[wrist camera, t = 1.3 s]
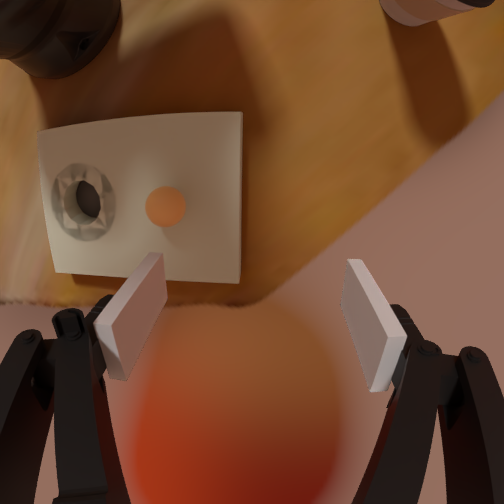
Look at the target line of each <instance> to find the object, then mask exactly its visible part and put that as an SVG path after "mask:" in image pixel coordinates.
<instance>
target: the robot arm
mask: <svg viewBox="0 0 504 504" xmlns="http://www.w3.org/2000/svg"><path fill="white" fill-rule="evenodd" d="M119 10H120V0H0V59H8V60H10V61H11V62H13V63H14V64H15V65H17V66H18V67H20V68H21V69H23V70H24V71H25V72H26V73H28V74H30V75H32V76H35V77H39V78H47V79H58V78H63V77H66V76H69V75H71V74H73V73H75V72H77V71H78V70H80V69H82V68H83V67H84V66H86V65H87V64H88V63H89V62H90V61H91V60H92V59H94V58H95V56H96V55H97V54H98V53H99V52H100V51H101V50H102V48H103V47H104V46H105V44H106V43H107V41H108V39H109V38H110V36H111V34H112V32H113V30H114V28H115V25H116V22H117V19H118V15H119ZM167 299H168V296H167V287H166V278H165V269H164V259H163V253H155V252H149V253H148V255H147V256H146V257H145V258H144V259H143V261H142V262H141V263H140V264H139V265H138V267H137V268H136V269H135V270H134V272H133V273H132V274H131V275H130V276H129V278H128V279H127V280H126V281H125V283H124V284H123V285H122V286H121V288H120V289H119V290H118V291H117V293H116V294H115V295H109V294H108V295H106V296H105V297H103V298H102V299H100V300H99V301H98V302H97V304H96V305H95V307H93V308H92V310H91V312H89V314H88V315H87V316H86V317H85V318H84V315H83V312H82V311H81V310H79V309H75V308H69V309H65V310H62V311H60V312H58V313H56V314H55V315H54V316H53V318H52V323H53V325H54V329H55V332H56V334H57V337H58V339H45V340H43V338H42V335H41V333H40V331H38V330H35V329H31V330H26V331H23V332H21V333H20V334H18V335H17V336H16V338H15V339H14V341H13V343H12V344H11V346H10V348H9V350H8V351H7V353H6V355H5V357H4V359H3V361H2V363H1V364H0V504H34V498H35V492H36V487H37V481H38V476H39V471H40V466H41V461H42V457H43V452H44V448H45V444H46V439H47V436H48V432H49V428H50V424H51V420H52V417H53V413H54V434H55V455H56V468H57V479H58V488H59V496H58V497H57V498H54V499H53V502H52V504H131V502H130V498H129V495H128V491H127V488H126V484H125V481H124V477H123V473H122V469H121V465H120V461H119V456H118V452H117V447H116V443H115V438H114V433H113V428H112V423H111V417H110V412H109V406H108V400H107V393H106V386H105V381H104V378H103V373H104V371H105V369H106V368H107V371H108V374H109V377H110V378H112V379H117V380H123V381H127V379H128V377H129V375H130V373H131V371H132V369H133V367H134V365H135V363H136V360H137V359H138V357H139V355H140V352H141V351H142V348H143V346H144V344H145V342H146V340H147V338H148V336H149V334H150V332H151V330H152V328H153V326H154V324H155V322H156V320H157V319H158V317H159V315H160V313H161V311H162V309H163V307H164V305H165V303H166V301H167ZM340 306H341V309H342V312H343V314H344V317H345V320H346V323H347V326H348V328H349V331H350V334H351V337H352V340H353V343H354V346H355V349H356V352H357V354H358V358H359V361H360V364H361V367H362V370H363V373H364V376H365V379H366V382H367V385H368V388H369V392H379V391H387V390H388V388H389V385H390V383H391V380H392V382H393V385H394V387H395V388H394V391H393V393H392V396H391V398H390V400H389V402H388V405H387V407H386V408H388V409H387V412H386V416H385V419H384V422H383V425H382V428H381V431H380V434H379V437H378V439H377V442H376V445H375V448H374V451H373V453H372V456H371V458H370V461H369V464H368V466H367V469H366V471H365V474H364V476H363V478H362V481H361V483H360V485H359V488H358V490H357V492H356V495H355V497H354V499H353V502H352V503H351V504H417V502H418V499H419V496H420V492H421V488H422V484H423V480H424V476H425V472H426V468H427V463H428V459H429V454H430V449H431V444H432V438H433V432H434V426H435V420H436V413H437V409H438V414H439V422H440V429H441V437H442V445H443V454H444V465H445V477H446V492H447V493H446V494H447V504H504V397H503V395H502V392H501V389H500V387H499V384H498V381H497V379H496V376H495V374H494V371H493V368H492V366H491V363H490V361H489V359H488V357H487V355H486V354H485V353H484V352H483V351H482V350H481V349H479V348H476V347H472V346H468V347H464V348H462V349H461V351H460V353H459V356H454V355H446V354H442V350H441V349H440V347H439V346H438V345H436V344H435V343H433V342H431V341H428V340H424V338H423V336H422V335H421V333H420V332H419V330H418V328H417V327H416V325H415V324H414V322H413V320H412V319H410V316H409V314H408V313H407V311H406V310H405V309H404V308H402V307H401V306H400V305H398V304H392V305H389V304H388V302H387V300H386V298H385V297H384V295H383V294H382V292H381V290H380V289H379V287H378V285H377V284H376V282H375V280H374V279H373V277H372V276H371V274H370V272H369V271H368V269H367V268H366V266H365V264H364V263H363V261H362V260H361V259H347V265H346V271H345V278H344V284H343V291H342V297H341V303H340Z"/></svg>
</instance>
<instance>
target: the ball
mask: <svg viewBox="0 0 504 504" xmlns="http://www.w3.org/2000/svg"><path fill="white" fill-rule="evenodd" d="M145 211H146V214H147V217H148V218H149V220H150V221H151V222H152V223H153V224H155V225H157V226H159V227H171V226H174V225H176V224H177V223H178V222H179V221H180V220H181V219H182V218H183V216H184V214H185V211H186V202H185V199H184V197H183V195H182V194H181V192H180V191H178V190H177V189H176V188H174V187H170V186H162V187H158V188H156V189H155V190H153V191H152V192H151V193H150V194H149V196H148V197H147V200H146V203H145Z"/></svg>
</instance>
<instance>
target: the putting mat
mask: <svg viewBox="0 0 504 504" xmlns="http://www.w3.org/2000/svg"><path fill="white" fill-rule="evenodd" d="M242 140H243V113H242V112H193V113H173V114H158V115H146V116H135V117H126V118H117V119H109V120H101V121H94V122H87V123H81V124H74V125H68V126H63V127H57V128H52V129H47V130H42V131H37V143H38V159H39V171H40V182H41V191H42V199H43V206H44V213H45V220H46V226H47V232H48V237H49V243H50V248H51V253H52V258H53V262H54V267H55V271H56V272H59V273H71V274H84V275H97V276H110V277H125V278H129V276H130V275H131V274H132V273H133V272H134V270H135V269H136V268H137V267H138V265H139V264H140V263H141V262H142V261H143V259H144V258H145V257H146V256H147V255H148V253H149V252H155V253H163V259H164V269H165V278H166V280H173V281H192V282H212V283H235V284H239V281H240V275H241V212H242ZM82 180H83V181H82ZM81 181H82V182H81ZM80 182H81V183H80ZM79 183H80V184H79ZM78 185H79V186H78ZM162 186H170V187H174V188H176V189H177V190H178V191H180V192H181V194H182V195H183V197H184V199H185V202H186V211H185V214H184V216H183V218H182V219H181V220H180V221H179V222H178V223H177V224H176V225H174V226H171V227H159V226H157V225H155V224H153V223H152V222H151V221H150V220H149V218H148V217H147V214H146V211H145V203H146V200H147V197H148V196H149V194H150V193H151V192H152V191H153V190H155V189H156V188H158V187H162ZM76 191H77V193H76ZM82 211H83V212H84V213H83V212H82ZM90 216H91V217H90Z"/></svg>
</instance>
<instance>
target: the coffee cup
mask: <svg viewBox="0 0 504 504" xmlns="http://www.w3.org/2000/svg"><path fill="white" fill-rule="evenodd" d="M379 2H380V4H381V6H382V8H383V9H384V11H385V12H386V13H387V14H388V15H389V16H390V17H391V18H392V19H394V20H395V21H397V22H399V23H401V24H403V25H407V26H419V25H422V24H425V23H427V22H430V21H436V20H439V19H443V18H446V17H449V16H453V15H456V14H460V13H463V12H467V11H470V10H473V9H474V8H475V7H479V8H482V7H487V6H489V5H491V4H492V3H493V2H494V0H379Z"/></svg>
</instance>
